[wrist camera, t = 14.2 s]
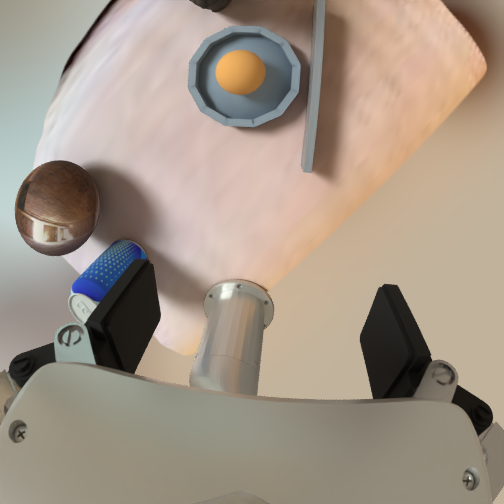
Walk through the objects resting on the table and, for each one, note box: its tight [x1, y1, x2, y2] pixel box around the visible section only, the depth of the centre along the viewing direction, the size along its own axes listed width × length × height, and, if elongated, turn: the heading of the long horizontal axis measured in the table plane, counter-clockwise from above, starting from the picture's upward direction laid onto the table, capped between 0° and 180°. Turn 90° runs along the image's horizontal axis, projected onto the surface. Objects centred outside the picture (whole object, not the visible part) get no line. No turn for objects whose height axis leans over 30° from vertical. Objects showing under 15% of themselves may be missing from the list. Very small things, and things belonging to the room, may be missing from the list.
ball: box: [215, 50, 266, 95], centre depth 29 cm, size 6×6×6 cm
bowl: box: [188, 26, 301, 127], centre depth 31 cm, size 14×14×2 cm
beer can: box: [68, 240, 148, 325], centre depth 41 cm, size 8×8×16 cm
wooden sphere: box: [15, 160, 100, 256], centre depth 36 cm, size 15×15×15 cm
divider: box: [301, 0, 325, 173], centre depth 30 cm, size 24×1×4 cm, turn 176°
